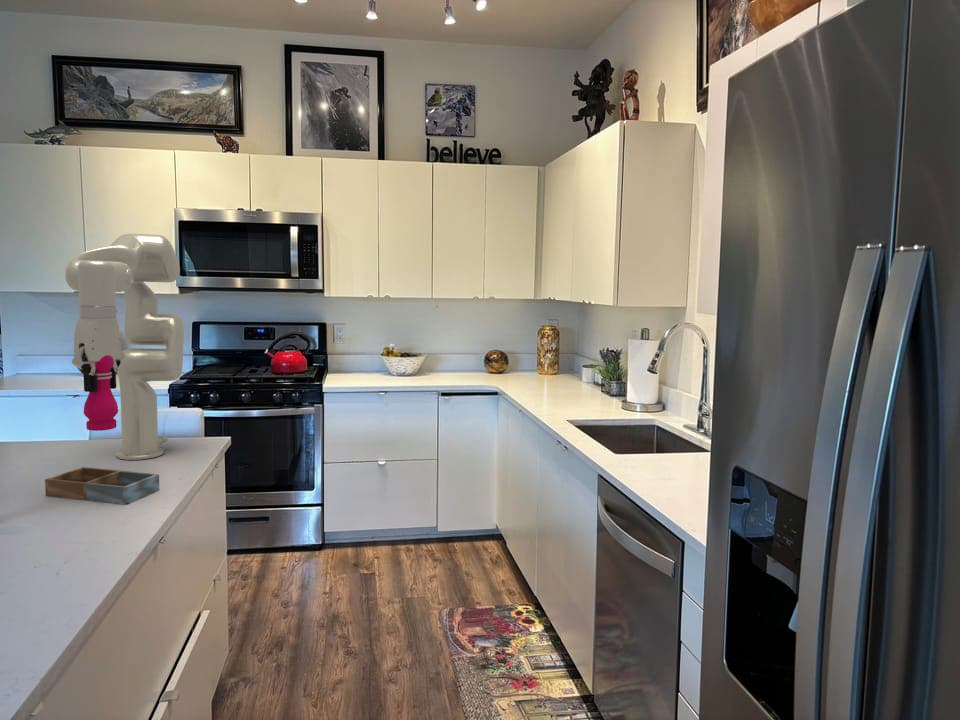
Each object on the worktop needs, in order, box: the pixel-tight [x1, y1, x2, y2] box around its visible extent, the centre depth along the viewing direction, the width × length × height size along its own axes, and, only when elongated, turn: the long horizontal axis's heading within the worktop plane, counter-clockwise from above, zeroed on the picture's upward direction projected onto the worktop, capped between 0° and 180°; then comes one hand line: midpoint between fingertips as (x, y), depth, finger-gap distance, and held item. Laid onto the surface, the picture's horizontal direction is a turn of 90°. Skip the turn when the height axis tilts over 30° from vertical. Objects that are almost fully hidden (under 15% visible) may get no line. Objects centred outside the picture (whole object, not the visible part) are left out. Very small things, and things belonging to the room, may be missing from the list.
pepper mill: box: [83, 355, 119, 432], centre depth 158 cm, size 7×7×20 cm
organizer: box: [44, 466, 160, 505], centre depth 161 cm, size 11×22×4 cm, turn 78°
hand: (100, 389), depth 158 cm, fingers closed on pepper mill, 5 cm apart
